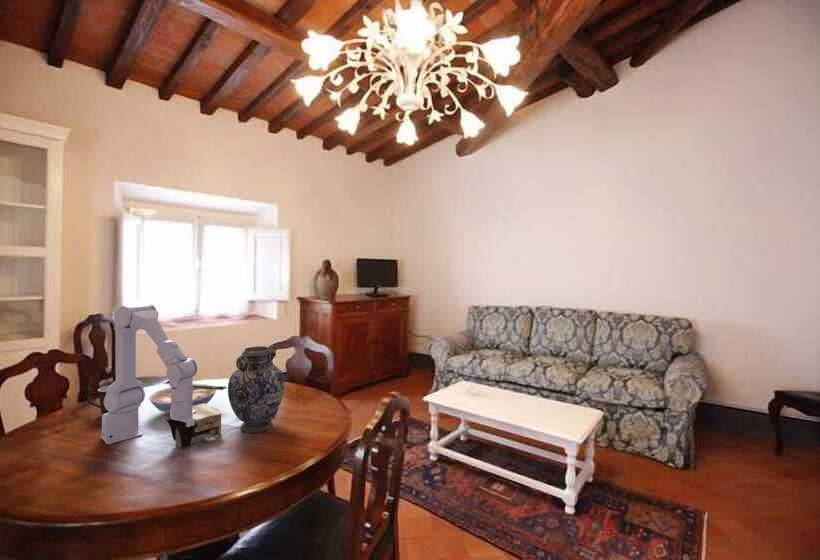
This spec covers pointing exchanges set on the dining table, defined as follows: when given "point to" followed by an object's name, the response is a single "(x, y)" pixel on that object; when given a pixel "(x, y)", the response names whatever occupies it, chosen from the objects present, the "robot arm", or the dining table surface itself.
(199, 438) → the wood grain brick
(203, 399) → the ramen bowl
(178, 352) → the robot arm
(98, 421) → the dining table surface
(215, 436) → the button
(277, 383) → the decorative vase
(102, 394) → the coffee mug
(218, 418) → the tan slab
